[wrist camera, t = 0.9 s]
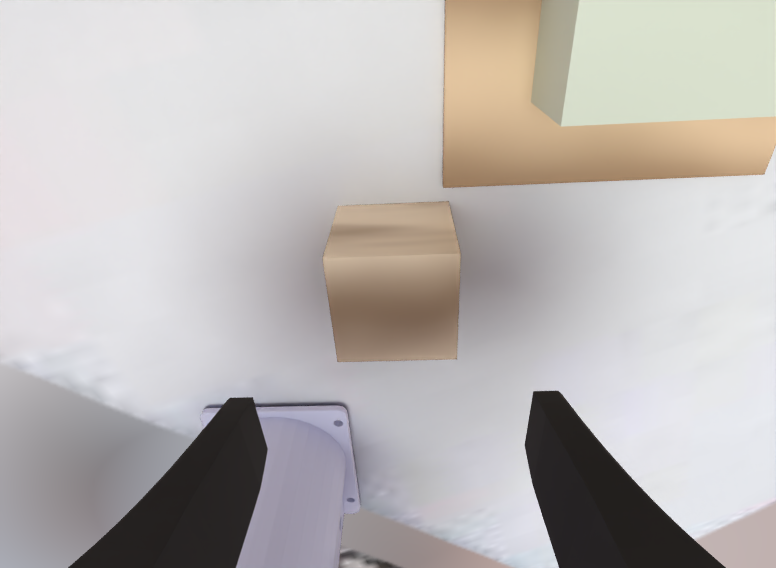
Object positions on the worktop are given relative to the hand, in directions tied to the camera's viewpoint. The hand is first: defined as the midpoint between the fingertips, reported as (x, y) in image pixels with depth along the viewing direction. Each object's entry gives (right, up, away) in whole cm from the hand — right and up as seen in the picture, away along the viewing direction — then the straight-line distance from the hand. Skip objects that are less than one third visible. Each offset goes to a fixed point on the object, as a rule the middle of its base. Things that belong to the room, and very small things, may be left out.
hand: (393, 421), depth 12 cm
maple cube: (0, +5, +8) cm, 9 cm away
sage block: (+8, +13, +2) cm, 15 cm away
